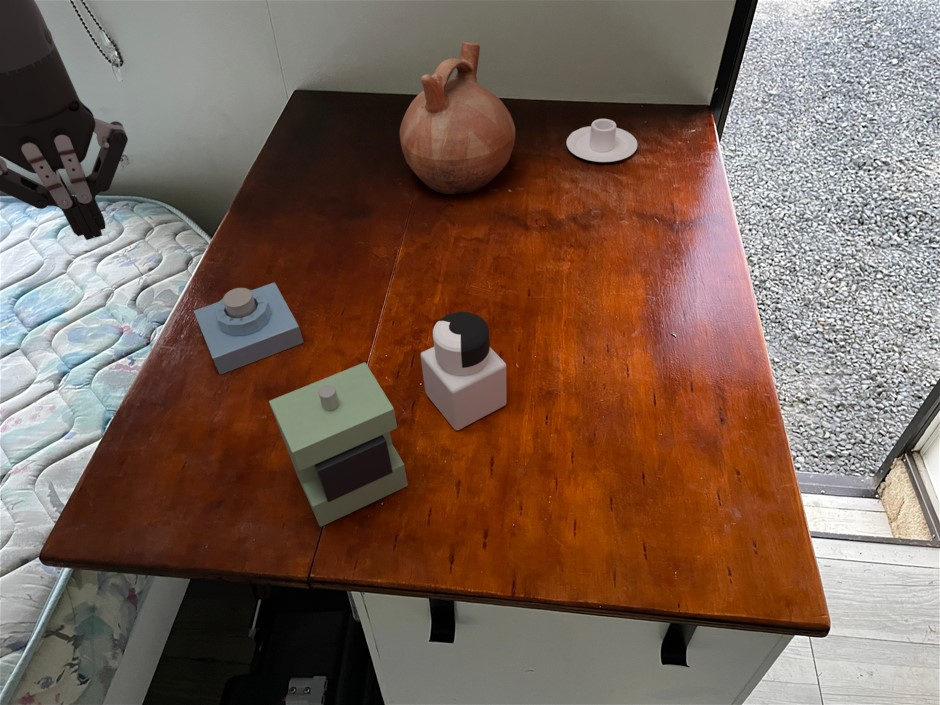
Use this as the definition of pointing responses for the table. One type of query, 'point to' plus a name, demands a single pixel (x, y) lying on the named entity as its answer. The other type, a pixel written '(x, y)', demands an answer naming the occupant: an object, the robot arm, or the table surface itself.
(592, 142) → the candle holder
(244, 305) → the short grey cylinder plug
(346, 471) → the paddle
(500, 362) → the medicine bottle
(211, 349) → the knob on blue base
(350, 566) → the table surface
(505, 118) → the jug
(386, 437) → the green block with peg
